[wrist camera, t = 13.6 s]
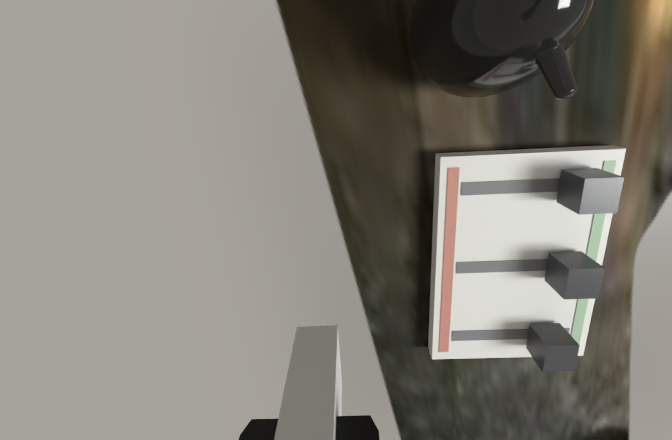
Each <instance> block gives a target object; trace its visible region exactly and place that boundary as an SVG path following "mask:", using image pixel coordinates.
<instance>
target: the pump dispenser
mask: <svg viewBox="0 0 672 440" xmlns="http://www.w3.org/2000/svg"><path fill="white" fill-rule="evenodd" d="M593 4H594V0H416V1H415V4H414V8H413V11H412V16H411V22H410V41H411V47H412V51H413V55H414V58H415V60H416V62H417V64H418V66H419V68H420V70H421V71H422V73H423V74H424V75H425V77H426V78H427V79H428V80H429V81H430V82H431V83H432V84H434V85H435V86H436V87H438V88H439V89H441V90H443V91H445V92H447V93H449V94H452V95H456V96H461V97H485V96H490V95H495V94H498V93H501V92H504V91H507V90H510V89H513V88H515V87H517V86H520V85H522V84H524V83H525V82H527V81H529V80H531V79H532V78H534V77H535V76H537V75H538V74H540V73H542V75H543V76H544V78H545V80H546V82H547V84H548V85H549V87H550V89H551V91H552V92H553V94H554V96H555V98H556V99H558V100H564V99H567V98H569V97H571V96H573V95H574V94H575V93H576V92H577V85H576V82H575V79H574V76H573V73H572V71H571V68H570V65H569V62H568V59H567V56H566V53H565V51H566V50H567V48H568V47H569V46H570V45H571V44H572V42H573V41H574V40H575V39H576V37H577V36H578V35H579V33H580V32H581V30H582V29H583V27H584V25H585V23H586V22H587V20H588V17H589V15H590V13H591V10H592V7H593Z"/></svg>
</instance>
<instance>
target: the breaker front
mask: <svg viewBox="0 0 672 440" xmlns="http://www.w3.org/2000/svg"><path fill="white" fill-rule="evenodd" d="M623 181H624V177H622V176H619V175H616V174H613V173H610V172H607V171H604V170H601V169H598V168H583V169H561V175H560V182H559V189H558V195H557V203H559V204H561V205H563V206H564V207H566V208H568V209H570V210H572V211H573V212H575V213H577V214H579V215H580V214H606V213H617V209H618V204H619V199H620V195H621V190H622V185H623Z"/></svg>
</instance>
